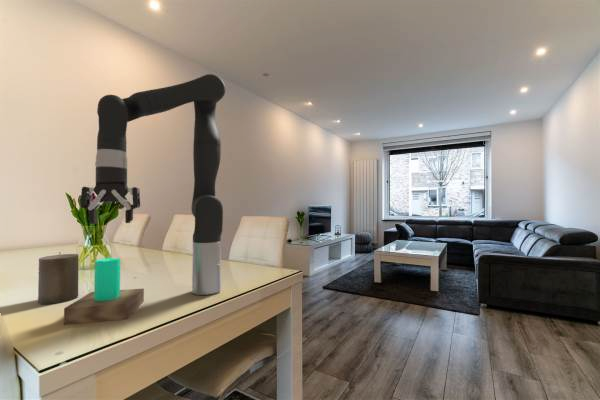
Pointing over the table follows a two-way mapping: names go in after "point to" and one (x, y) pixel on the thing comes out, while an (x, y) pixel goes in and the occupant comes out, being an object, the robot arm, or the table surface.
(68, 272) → the pillar candle
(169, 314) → the table surface
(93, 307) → the walnut stand
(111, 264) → the teal green tall block
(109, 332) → the table surface
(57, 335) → the table surface
